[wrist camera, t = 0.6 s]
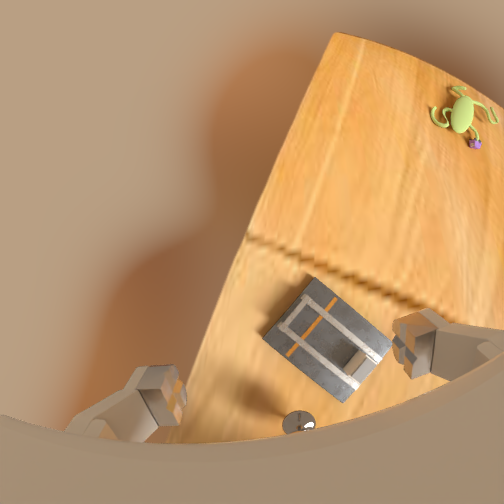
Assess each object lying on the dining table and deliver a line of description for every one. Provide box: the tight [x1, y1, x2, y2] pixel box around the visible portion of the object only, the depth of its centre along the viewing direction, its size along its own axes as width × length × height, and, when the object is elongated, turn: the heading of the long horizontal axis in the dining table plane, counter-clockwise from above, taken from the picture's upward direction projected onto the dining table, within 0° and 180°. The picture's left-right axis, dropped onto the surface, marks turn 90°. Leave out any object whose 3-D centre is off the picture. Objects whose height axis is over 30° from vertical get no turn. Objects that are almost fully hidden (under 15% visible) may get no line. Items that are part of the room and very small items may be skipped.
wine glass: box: [283, 411, 316, 434], centre depth 44 cm, size 8×8×15 cm
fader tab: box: [343, 350, 377, 385], centre depth 47 cm, size 3×5×7 cm, turn 139°
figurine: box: [431, 86, 499, 149], centre depth 56 cm, size 18×27×6 cm
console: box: [262, 277, 392, 403], centre depth 52 cm, size 22×16×5 cm
